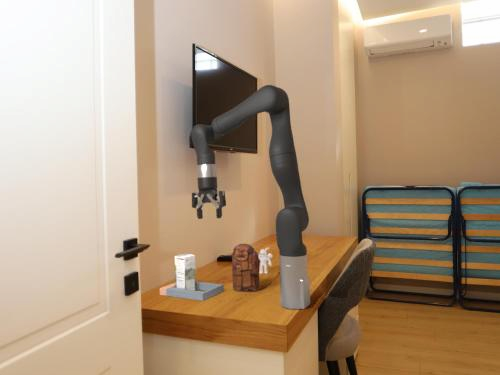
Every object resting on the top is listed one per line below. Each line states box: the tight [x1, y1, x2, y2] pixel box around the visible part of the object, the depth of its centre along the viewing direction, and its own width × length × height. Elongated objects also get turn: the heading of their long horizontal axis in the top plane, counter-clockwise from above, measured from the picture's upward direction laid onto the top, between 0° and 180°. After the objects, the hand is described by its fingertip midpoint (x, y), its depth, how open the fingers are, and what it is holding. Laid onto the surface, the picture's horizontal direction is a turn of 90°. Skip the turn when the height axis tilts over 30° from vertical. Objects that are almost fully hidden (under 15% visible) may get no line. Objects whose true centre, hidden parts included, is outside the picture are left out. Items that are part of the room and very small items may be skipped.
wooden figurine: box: [231, 243, 260, 292], centre depth 155 cm, size 12×6×18 cm, turn 73°
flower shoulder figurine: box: [258, 247, 274, 275], centre depth 182 cm, size 9×4×12 cm, turn 74°
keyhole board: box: [159, 280, 224, 302], centre depth 152 cm, size 20×14×2 cm
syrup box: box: [174, 253, 197, 291], centre depth 153 cm, size 6×6×14 cm
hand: (209, 218), depth 152 cm, fingers open, 8 cm apart
